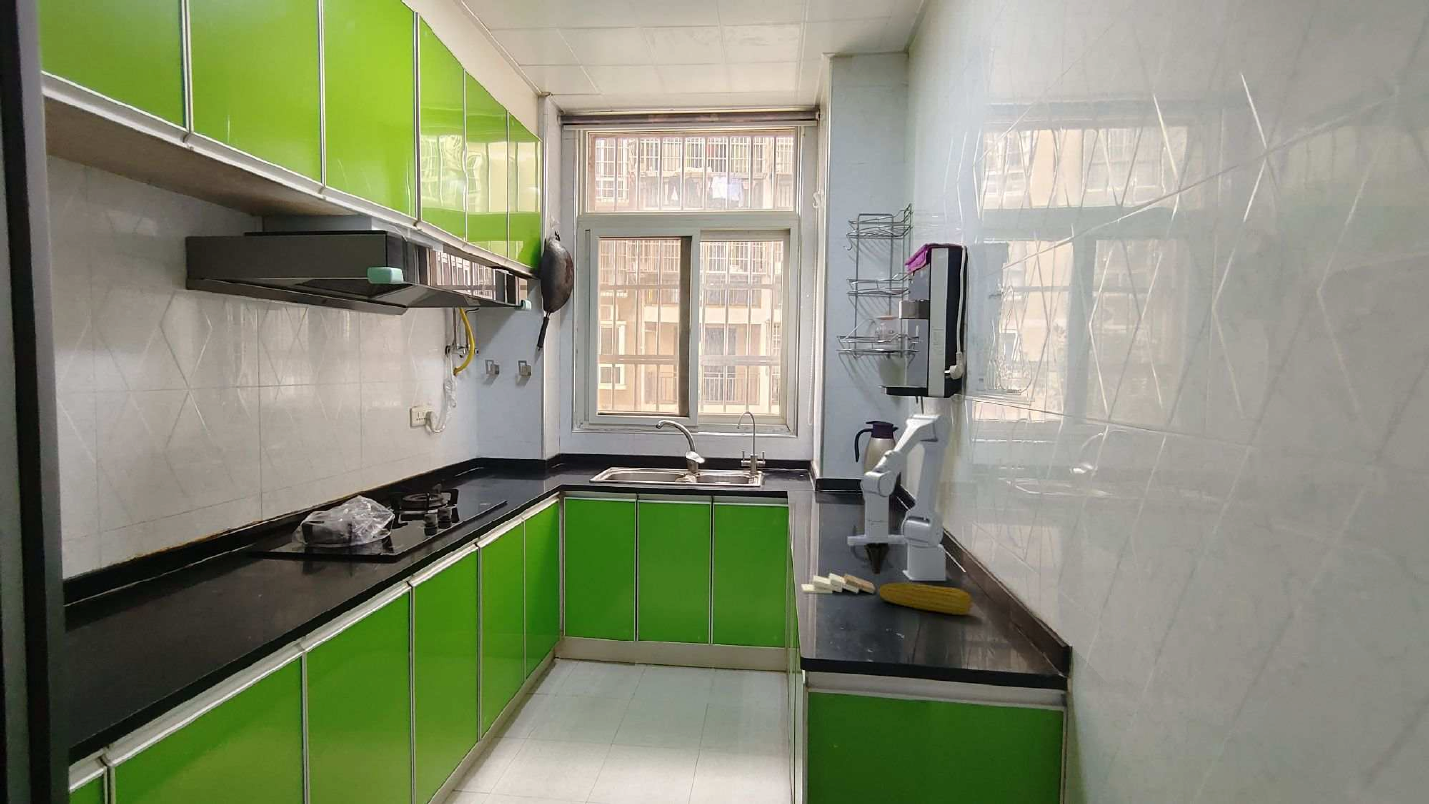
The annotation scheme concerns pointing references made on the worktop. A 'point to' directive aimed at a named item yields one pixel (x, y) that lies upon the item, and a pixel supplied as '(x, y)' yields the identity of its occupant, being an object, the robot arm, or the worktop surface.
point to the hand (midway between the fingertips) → (876, 572)
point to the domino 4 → (859, 583)
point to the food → (928, 597)
